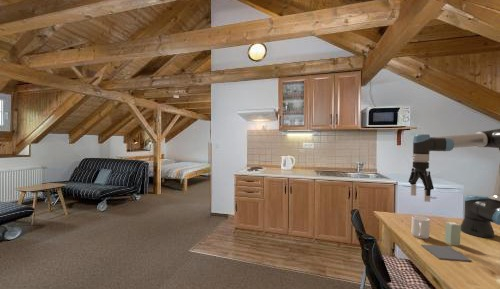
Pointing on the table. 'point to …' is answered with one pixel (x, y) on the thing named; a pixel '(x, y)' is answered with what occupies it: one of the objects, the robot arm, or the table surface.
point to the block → (452, 233)
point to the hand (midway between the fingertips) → (419, 198)
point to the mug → (420, 227)
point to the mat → (445, 253)
